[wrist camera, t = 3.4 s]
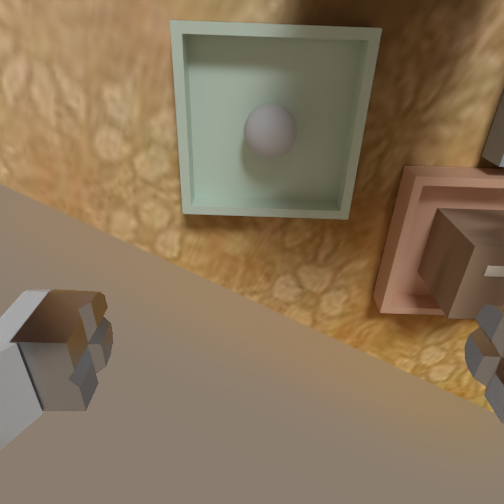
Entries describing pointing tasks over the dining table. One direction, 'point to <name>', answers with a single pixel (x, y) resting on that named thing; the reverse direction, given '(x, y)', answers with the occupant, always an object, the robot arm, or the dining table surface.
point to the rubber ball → (270, 131)
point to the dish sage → (271, 92)
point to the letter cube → (465, 260)
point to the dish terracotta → (427, 229)
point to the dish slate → (496, 138)
